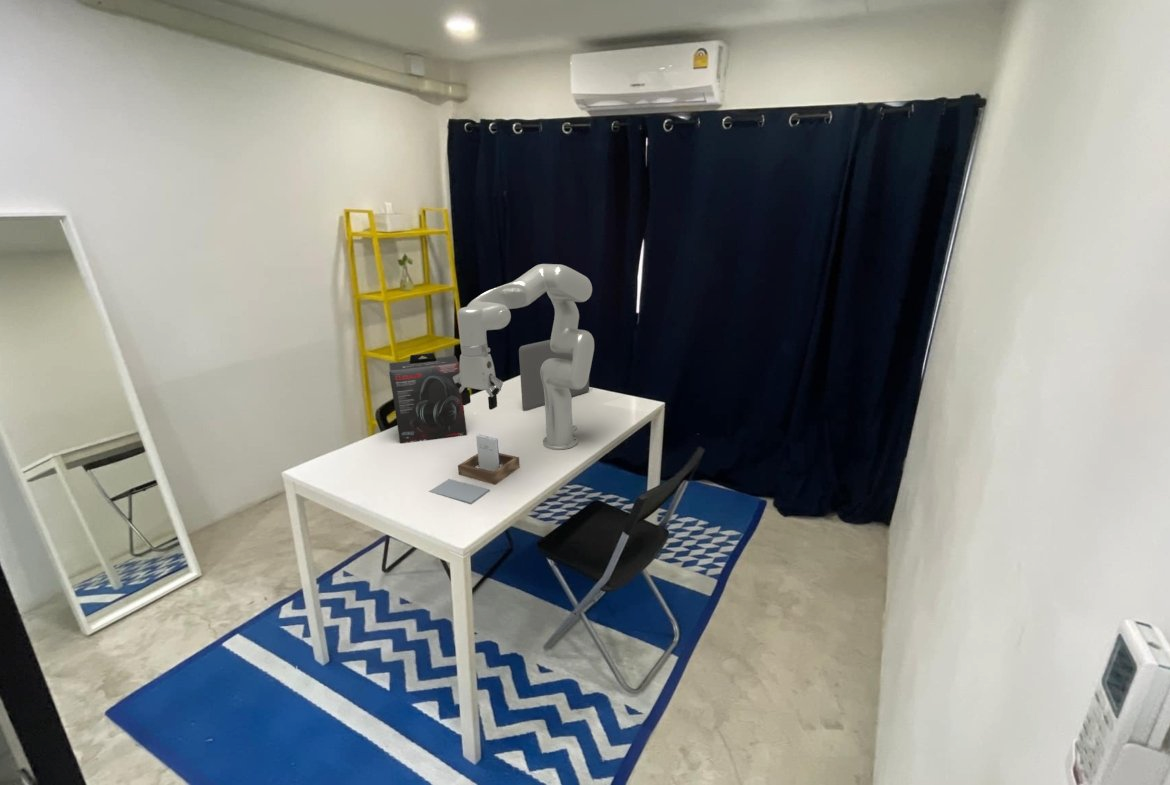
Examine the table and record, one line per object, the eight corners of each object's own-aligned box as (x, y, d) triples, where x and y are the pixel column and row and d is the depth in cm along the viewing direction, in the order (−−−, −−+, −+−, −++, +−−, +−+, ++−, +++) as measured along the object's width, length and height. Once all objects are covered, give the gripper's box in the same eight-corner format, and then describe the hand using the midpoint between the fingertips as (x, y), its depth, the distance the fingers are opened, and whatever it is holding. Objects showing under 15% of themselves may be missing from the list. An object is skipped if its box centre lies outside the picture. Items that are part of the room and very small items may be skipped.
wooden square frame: (484, 460, 190) (483, 449, 189) (519, 468, 184) (519, 457, 182) (459, 476, 179) (457, 465, 178) (495, 485, 173) (494, 473, 171)
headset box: (399, 449, 202) (387, 361, 191) (398, 436, 213) (387, 352, 203) (467, 438, 209) (459, 353, 199) (463, 427, 220) (455, 346, 210)
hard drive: (482, 468, 184) (478, 434, 180) (501, 474, 180) (498, 438, 176) (478, 470, 183) (475, 435, 179) (497, 476, 179) (494, 440, 175)
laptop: (550, 381, 277) (547, 323, 268) (590, 394, 256) (589, 331, 247) (485, 399, 253) (480, 336, 244) (524, 415, 232) (520, 347, 223)
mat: (449, 481, 176) (448, 478, 176) (490, 491, 169) (489, 489, 169) (429, 493, 169) (429, 491, 168) (471, 504, 161) (470, 502, 161)
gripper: (506, 349, 160) (511, 405, 165) (458, 345, 167) (464, 398, 173) (491, 356, 153) (496, 414, 159) (442, 350, 161) (448, 406, 166)
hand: (479, 406), depth 166 cm, fingers open, 9 cm apart
